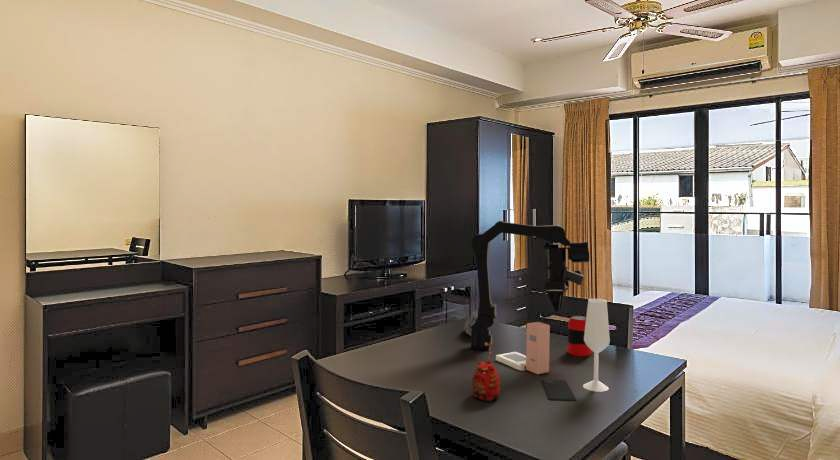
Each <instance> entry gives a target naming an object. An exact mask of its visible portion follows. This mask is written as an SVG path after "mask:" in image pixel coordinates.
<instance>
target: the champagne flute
mask: <svg viewBox="0 0 840 460" xmlns="http://www.w3.org/2000/svg"><path fill="white" fill-rule="evenodd" d="M587 300H588V301H587V306H586V307H587V308H586V316H585V317H586V324H585V333H584V342H585V344H586V345H587V346H588V347H589V348H590V349H591V352H593V356H594V357H593V380H591V381H589V382H586V383H584V384H583V385H582V387H583V388H584V389H586V390H587V391H591V392H597V393H600V392H601V393H602V392H606V391H609V387H608V386H607V385H606V384H604V383H602V382H601V381H600V380H599V360H600V359H599V355H600V353H601V352H602V351H604V350H605V349H607V347H609V345H610V344H611V343H610V342H611V339H610V326H609V324H610V323H609V314H608V311H609V310H608V301H607V300H606V299H602V298H589V299H587Z"/></svg>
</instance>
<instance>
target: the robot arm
mask: <svg viewBox="0 0 840 460" xmlns="http://www.w3.org/2000/svg"><path fill="white" fill-rule="evenodd" d="M565 231H566V230H565V229H564V228H563V226H561V225H558V224H552V225H550V224H548V225H531V224H524V223H517V222H516V223H515V222H508V221H504V220H499V221H496V222H495V224H494V225H493V226H491V227H490V228H489V229H487V230H486V231H484V232H483V233H482V232H481V233H477V234H476V235H475V236H473V238H472V239H471V242H470V243H471V246H472V247H471V248H472V252H473V255H474V258H475V260H476V271H477V272H476V273H477V285H478V299H479V301H478V302H479V303H478V309H477V310H478V316H477V319H476V320H475V321H474V322H473V324H472V326H471V329H472V330H471V336H470V347H469V349H470V350H477V351H478V350H481V351H489V346H488V345H487V346H485V342H487V344H489V342H491V340H492V338H493V337H492V336H493V334H492V333H491V329H488V328H490V327H492V326H493V325H494V323H495V320H496V319H497V316H498V313H497V303H493V301H492V298H491V297H492V296H491V286H490V285H491V284H490V283H491V282H490V270H489V255H490V254H489V253H490V248H491V247H490V245H491V241H493V240H494V239H495V238H496V237H498V236H499V235H500V234H511V235H517V236H525V237H532V238H533V237H534V238H538V239H540V240H544V241H547V242H545V245H544V246H542V247H541V248H542V250H547V264H548V265H547V271H548V278H547V281H546V282H545V283H544V290H545V292H546V294H547V297H548V299H549V301H550V303H551V305H552V308H553V310H554V312H559V310H560V309H562V306H563V301H564V296H565V293H566V291H567V290H568V289H570V282H571V283H573V284H576V285H578V286H582V284H583V282H584V278H585V275H584V274H582V272H581V270H578V269H576V270H575V271H571V270H569V269H568V265H567V260H570V262H571V263H572V264H573V263H575V264H576V263H577V264H578V263H580V264H582V263H590V251H589V242H588V241H582V242H581V241H580V242H571V240H570V239H568V238H567V237H566V232H565ZM550 242H551V243H553V244H551V243H550ZM549 243H550V244H549ZM559 244H560V245H563V247H559ZM566 250H567V252H566ZM566 253H567V254H566ZM566 255H567V257H566ZM566 258H567V259H566ZM491 343H492V344H493V340H492V342H491Z"/></svg>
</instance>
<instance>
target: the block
mask: <svg viewBox="0 0 840 460" xmlns="http://www.w3.org/2000/svg"><path fill="white" fill-rule="evenodd" d="M550 329H551V326H550V324H547V323H544V322H540V321H535V322H528V323H526V343H525V344H526V345H525V346H526V350H525V351H526V355H525V356H526V370H525V371H529V372H531V373H534V374H535V375H540V374H546V373H549V372H550V341H551V339H550V337H551V336H550V334H551V332H550Z"/></svg>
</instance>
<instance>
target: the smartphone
mask: <svg viewBox="0 0 840 460" xmlns="http://www.w3.org/2000/svg"><path fill="white" fill-rule="evenodd" d="M540 382H541V384H542V387H543V389H544V392H545V395H546V398H547V399H548V401H555V402H556V401H560V402H561V401H562V402H564V401H565V402H577V397H576V396H575V394H574V392H573V390H572V389H571V387H570V385H569V383H568V381H567V380H564V379H561V380H560V379H541V381H540Z"/></svg>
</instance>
